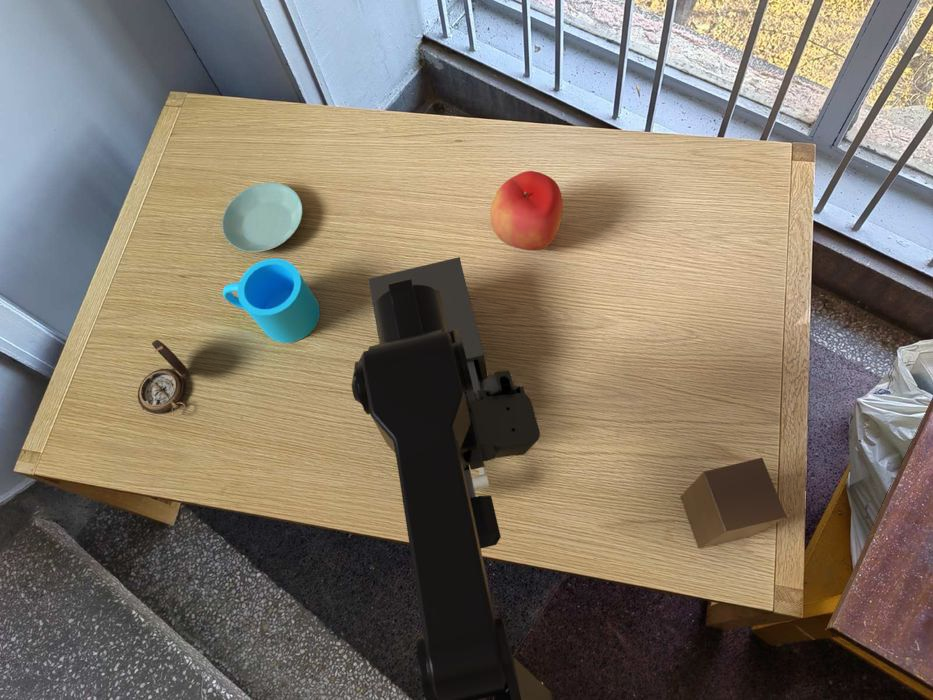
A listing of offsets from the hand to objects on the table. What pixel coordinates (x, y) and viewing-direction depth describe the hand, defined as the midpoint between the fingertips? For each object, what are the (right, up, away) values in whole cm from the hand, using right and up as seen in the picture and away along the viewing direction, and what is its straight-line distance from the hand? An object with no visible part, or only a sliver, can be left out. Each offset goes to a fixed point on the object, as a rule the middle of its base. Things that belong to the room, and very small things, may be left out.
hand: (455, 471), depth 70 cm
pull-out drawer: (-1, +3, +13) cm, 13 cm away
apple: (+10, +28, +24) cm, 39 cm away
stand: (+29, -6, +7) cm, 31 cm away
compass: (-38, +7, +20) cm, 43 cm away
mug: (-25, +17, +23) cm, 38 cm away
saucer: (-28, +31, +29) cm, 51 cm away
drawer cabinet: (-3, +13, +19) cm, 23 cm away
